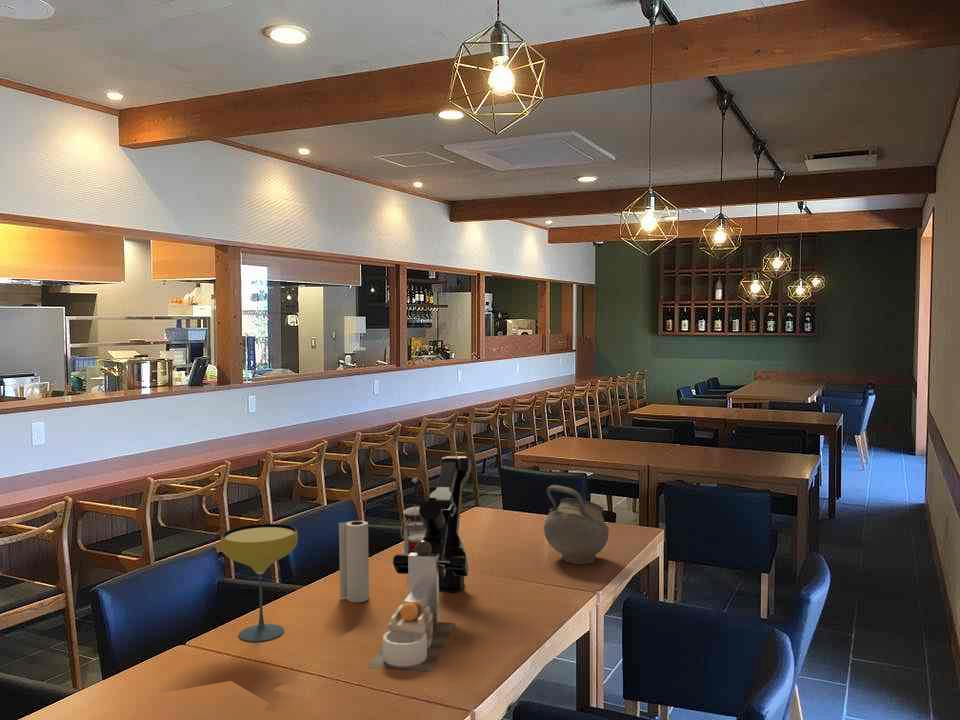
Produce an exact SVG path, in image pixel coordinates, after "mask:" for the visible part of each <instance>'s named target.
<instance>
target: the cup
mask: <svg viewBox="0 0 960 720" xmlns="http://www.w3.org/2000/svg"><path fill="white" fill-rule="evenodd" d="M382 637H383V638H382V646H383V658H384V662H385V663H386V664H388V665H390V666H394V667H412V666H416V665H419V664H421V663H423V662H424V661H425V660H426V659H427V634H426V632H424V633H415V632H397V631H389V630H388V631H387V632H385V633H384V634H383V636H382Z"/></svg>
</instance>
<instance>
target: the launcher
mask: <svg viewBox="0 0 960 720" xmlns="http://www.w3.org/2000/svg"><path fill="white" fill-rule="evenodd" d="M403 605H404V603H401V604H400V605H399V606H398V608H397V609H396V610H395V612H393V615H392V616H391V617H390V622H388V631H397V632H415V633H424V632H426V634H427V659H426V660H425V661H424V662H423V663H421V664H419V665H416V666H412V667H394V666H390V665H388V664H386V663H385V662H384V658H383V645H382V646H381V647H380V649H379V650H378V651H377V652H376V654H375V655H374V657H373V658H372V660H371V661H370V662H369V664H368V665H367V667H366V668H367V669H378V670H393V671H408V672H409V671H412V672H422V673H423V672H427V673H430V672H431V671H432V669H433V666H434V665H435V663H436V661H437V659H438V657H439V655H440V653H441V651H442V649H443V648H444V646H445V644H446V642H447V640H448V638H449V636H450V634H451V632H452V631H453V628H456V622H444V621H443V622H442V621H439V626H438V628H437V629H434V628H433V622H432V612H430V605H427V606H426V607H425V609H424V610H423V612H422V614H421V615H417V617H416V618H415V619H414V620H412V621H406V620H404V619H403V618H402V616H401V613H400V611H401V608H402V606H403Z"/></svg>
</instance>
